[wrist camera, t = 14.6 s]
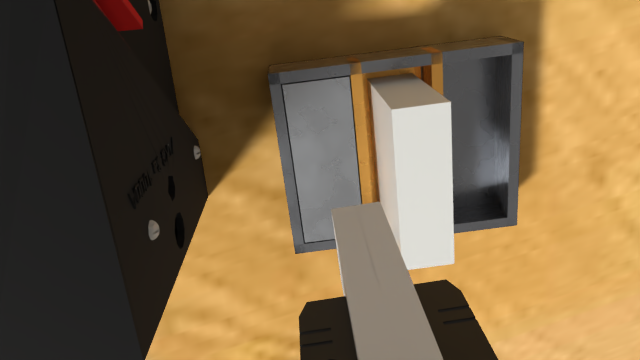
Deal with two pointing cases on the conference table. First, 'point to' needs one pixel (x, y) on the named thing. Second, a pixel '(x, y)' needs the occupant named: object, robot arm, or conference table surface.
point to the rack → (356, 138)
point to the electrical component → (90, 179)
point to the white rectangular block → (414, 166)
